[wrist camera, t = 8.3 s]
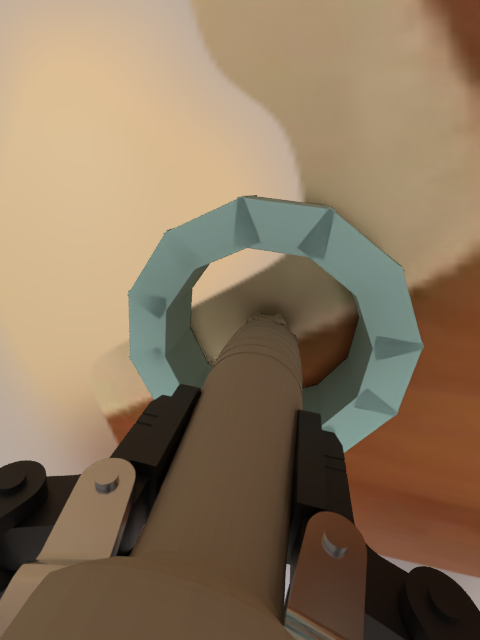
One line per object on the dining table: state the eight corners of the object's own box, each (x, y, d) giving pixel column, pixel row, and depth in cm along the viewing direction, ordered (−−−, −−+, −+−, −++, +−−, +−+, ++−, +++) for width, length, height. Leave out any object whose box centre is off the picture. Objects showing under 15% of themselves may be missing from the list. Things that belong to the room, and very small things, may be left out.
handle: (226, 381, 19) (35, 841, 6) (224, 278, 17) (-119, 645, 3) (307, 389, 18) (314, 956, 5) (317, 282, 16) (389, 807, 2)
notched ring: (162, 182, 17) (124, 180, 14) (432, 218, 16) (472, 226, 12) (158, 393, 23) (130, 431, 19) (357, 437, 21) (368, 488, 17)
